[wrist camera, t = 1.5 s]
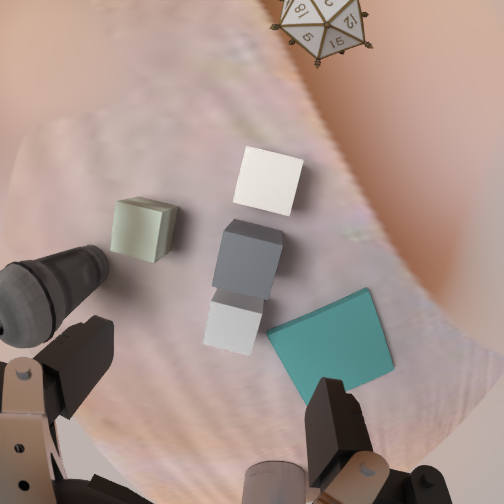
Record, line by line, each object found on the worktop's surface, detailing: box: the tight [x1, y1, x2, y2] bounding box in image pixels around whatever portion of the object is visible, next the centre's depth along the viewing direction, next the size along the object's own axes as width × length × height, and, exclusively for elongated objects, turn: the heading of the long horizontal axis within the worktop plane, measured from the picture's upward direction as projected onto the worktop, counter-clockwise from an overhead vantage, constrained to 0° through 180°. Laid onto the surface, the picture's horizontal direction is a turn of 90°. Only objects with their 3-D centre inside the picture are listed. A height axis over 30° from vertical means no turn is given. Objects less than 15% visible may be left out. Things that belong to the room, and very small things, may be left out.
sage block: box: [110, 197, 179, 263], centre depth 27 cm, size 4×4×4 cm
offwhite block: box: [233, 146, 304, 216], centre depth 25 cm, size 4×4×4 cm
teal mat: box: [267, 288, 394, 406], centre depth 30 cm, size 11×11×1 cm
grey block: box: [203, 288, 264, 356], centre depth 28 cm, size 4×4×4 cm
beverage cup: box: [0, 245, 109, 348], centre depth 21 cm, size 7×7×20 cm
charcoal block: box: [212, 219, 283, 300], centre depth 26 cm, size 4×4×6 cm
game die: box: [269, 0, 373, 68], centre depth 19 cm, size 9×8×10 cm
